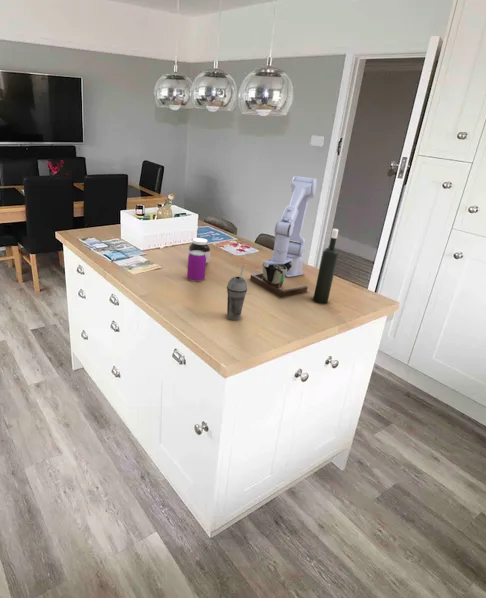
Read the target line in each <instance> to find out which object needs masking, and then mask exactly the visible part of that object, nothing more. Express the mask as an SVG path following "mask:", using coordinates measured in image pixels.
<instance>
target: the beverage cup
mask: <svg viewBox="0 0 486 598" xmlns="http://www.w3.org/2000/svg"><path fill="white" fill-rule="evenodd" d="M244 267H245V265H242V266H241V271H240V274H239V276H233V277H232V278H230V279H229V280H228V281H227V286H226V292H227V293H226V294H227V305H226V307H227V309H226V310H227V311H226V313H227V319H228V320H231V321H239V320H240V318H241V315H242V311H243V306H244V302H245V298H246V295H247V292H248V283H247V281H246V280H245V279H244V278H243V277H242V275H243V272H244Z"/></svg>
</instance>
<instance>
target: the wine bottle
mask: <svg viewBox="0 0 486 598" xmlns="http://www.w3.org/2000/svg"><path fill="white" fill-rule="evenodd" d="M339 231H340V230H339V228H332V230H331V235H330V241H329V246H328V247H326V248H324V249H323V251H322V253H321V254H322V255H321V259H320V265H319V269H318V274H317V280H316V284H315V288H314V293H313V298H312V301H313V302H314V303H317V304H320V305H326V304H328V302H329V298H330V294H331V289H332V285H333V279H334V277H335V276H334V275H335V271H336V267H337V261H338V257H339V251H338V249H336V244H337V243H336V242H337V239H338V235H339Z"/></svg>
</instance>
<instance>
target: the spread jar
mask: <svg viewBox="0 0 486 598" xmlns="http://www.w3.org/2000/svg"><path fill="white" fill-rule="evenodd" d="M194 250H199V251H203V252H205V256H206V265H207V264H208V263H209V262H210V258H211V248H210V246H209V244H208V239H207V238H203V237H195V238H193V239H192V243H191V244H190V245H189V246H188V252H187V254H188V255H187V257H188V256H189V254H190V252H191V251H194Z"/></svg>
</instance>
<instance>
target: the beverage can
mask: <svg viewBox="0 0 486 598" xmlns="http://www.w3.org/2000/svg"><path fill="white" fill-rule="evenodd" d="M206 265H207V264H206V256H205V252H203V251H199V250H194V251H191V252H190V254H189V256H188V255H187V271H186V272H187V273H186V278H187V279H188V280H189V281H191V282H196V283H197V282H202V281H203V280H204V279H205V277H206V267H207V266H206Z"/></svg>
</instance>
